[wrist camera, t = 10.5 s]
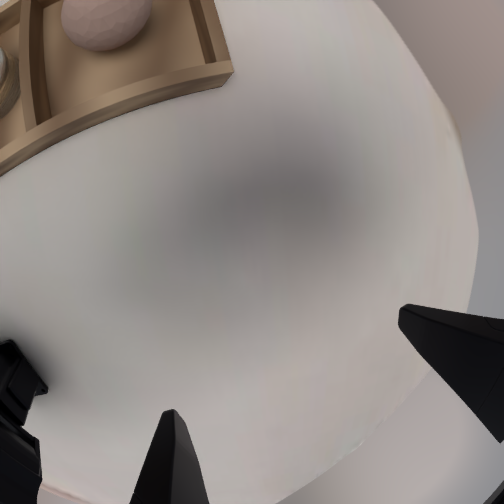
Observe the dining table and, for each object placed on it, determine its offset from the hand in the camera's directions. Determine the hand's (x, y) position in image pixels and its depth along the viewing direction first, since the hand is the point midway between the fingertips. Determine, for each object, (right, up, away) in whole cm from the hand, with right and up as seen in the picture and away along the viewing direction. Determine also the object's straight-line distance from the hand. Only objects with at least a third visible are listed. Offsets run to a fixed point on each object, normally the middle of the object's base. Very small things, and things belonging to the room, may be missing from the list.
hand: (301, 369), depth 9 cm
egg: (-11, +19, +3) cm, 22 cm away
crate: (-14, +18, +3) cm, 23 cm away
